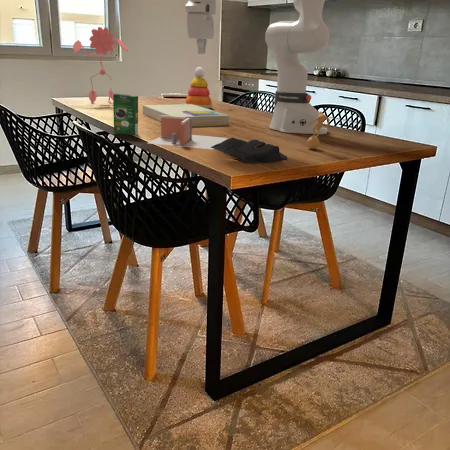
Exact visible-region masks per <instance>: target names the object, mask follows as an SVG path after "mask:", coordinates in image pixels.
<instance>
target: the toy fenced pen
mask: <svg viewBox="0 0 450 450" xmlns="http://www.w3.org/2000/svg"><path fill="white" fill-rule="evenodd" d="M227 139H229V138H228V137H221V136H210V135H198V134H192V140H189V141H188V142H186V143H185V144H184V145H182V144H180V138H177V134H172V137H162V136H161V135H160V136H159V137H157V138H155V139H153V140H150V141H149V142H147V144H149V145H161V146H168V147H169V146H170V147H171V146H172V147H182V148H189V149H190V148H191V149H200V150H201V149H204V150H212V151H213V150H215V149H213V148H211V147H212V146H214V145H216V144H219V143H222V142H223V141H225V140H227Z"/></svg>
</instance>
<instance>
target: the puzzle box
mask: <svg viewBox="0 0 450 450" xmlns="http://www.w3.org/2000/svg"><path fill="white" fill-rule="evenodd" d="M142 114H143V115H144V116H147V117H149V118H151V119H154V120H156V121H159V122H161V115H167V116H179V117H186V118H192V128H193V127H214V126H215V127H217V126H229V122H230V121H229V120H230V116H229V115H228V114H225V113H222V112H218V111H216V110H212V109H211V108H208V109H206V108H203V107H200V106H196V105H193V104H184V103H181V104H179V103H178V104H177V103H175V104H143V105H142Z"/></svg>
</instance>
